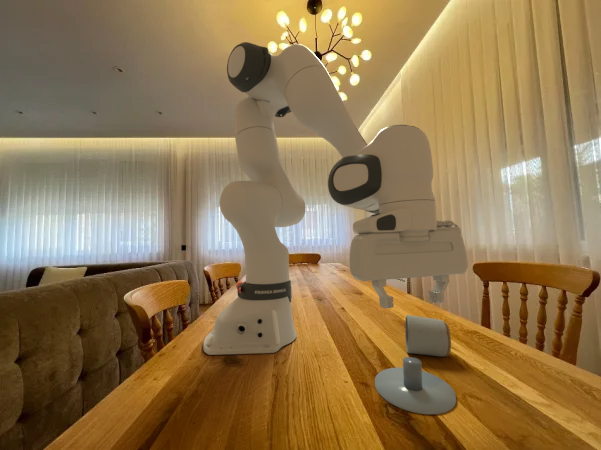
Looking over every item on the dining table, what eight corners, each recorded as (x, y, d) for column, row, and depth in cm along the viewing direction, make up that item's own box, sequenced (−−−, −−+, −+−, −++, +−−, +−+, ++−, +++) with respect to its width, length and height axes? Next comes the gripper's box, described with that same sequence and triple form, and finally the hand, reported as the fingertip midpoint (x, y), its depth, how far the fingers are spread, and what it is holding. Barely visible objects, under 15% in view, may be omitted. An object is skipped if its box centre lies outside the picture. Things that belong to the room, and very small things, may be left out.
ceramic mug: (454, 364, 49) (452, 323, 49) (408, 359, 51) (406, 320, 52) (440, 343, 59) (439, 309, 60) (403, 339, 61) (401, 307, 62)
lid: (403, 423, 34) (401, 387, 34) (362, 376, 46) (361, 349, 46) (476, 409, 37) (474, 375, 37) (420, 368, 48) (419, 342, 49)
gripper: (445, 221, 48) (450, 295, 47) (344, 224, 44) (347, 305, 43) (474, 218, 42) (481, 303, 41) (360, 220, 37) (365, 316, 36)
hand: (412, 304), depth 42 cm, fingers open, 8 cm apart
